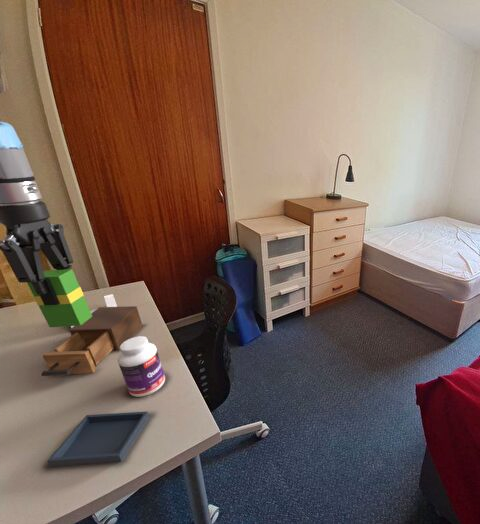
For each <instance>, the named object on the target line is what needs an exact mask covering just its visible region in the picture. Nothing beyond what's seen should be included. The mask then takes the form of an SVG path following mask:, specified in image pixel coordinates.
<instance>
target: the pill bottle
mask: <svg viewBox="0 0 480 524" xmlns="http://www.w3.org/2000/svg"><path fill="white" fill-rule="evenodd" d="M117 364H118V366H119V369H120V371H121V374H122V377H123V380H124V383H125V385H126V387H127V391H128V393H129V394H130V395H131V396H133V397H137V398H138V397H139V398H140V397H141V398H142V397H145V396H148V395H149V396H150V395H151V394H153V393H155V392H157V391H158V390H159V389H161V388H162V386H163V385H164V384H165V381H166V374H165V372H164V368H163V366H162V362H161V359H160V355H159V353H158V349H157V347H156V345H155V344H154V343H151V342H149V340H148V338H147V337H146V336H143V335H141V336H140V335H138V336H133V337H132V338H130V339H128V340H126V341H125V342H123V343H122V344H121V346H120V353H119V355H118V357H117Z"/></svg>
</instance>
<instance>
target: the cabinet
mask: <svg viewBox="0 0 480 524" xmlns="http://www.w3.org/2000/svg"><path fill="white" fill-rule="evenodd" d="M96 309H97V310H95V309H94V310H95V311H94V312H93V313H91V314H92V317H91V318H90V319H88V320H87V321H86V322H85V323H83V324H82V325H81V326H74V327H72V328H71V327H70V328H69V329H68V332H69V333H70V337H71V336H72V335H73V334H74V333H76V332H93V331H109V332H110V334H111V337H112V340H113V342H114V345H115V348H114V349H113V350H112V351H111V352H117V351H121V349H120V346H121V344H122V343H123V342H125V341H126V340H128V339H130V338H133V337H135V335H136V334H137V333H138V332H139V331H140V330H141V329H142V328H143V323H142V319H141V316H140V313H139V310H138V306H136V305H135V306H133V305H132V306H117V307H106V306H100V307H98V308H96Z"/></svg>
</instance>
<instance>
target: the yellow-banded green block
mask: <svg viewBox="0 0 480 524" xmlns="http://www.w3.org/2000/svg"><path fill="white" fill-rule="evenodd" d="M43 273H44V277H45V279H49V280H50V282H51V284H52V286H53V289H54V291H55V293H56V295H57V298H58V300H59V302H60V304H58V305H44V303H43V301H42V299H41V297H40V295H38V294H37V293H36V292H35V289H34V287H33V285H32V283H31V282H26V284H27V286H28V288H29V290H30V292H31V294H32V295H33V299H34V301H35V303H36V304H37V305H36V306H38V307H39V309H40V311H41V314H42V315H43V317H44V319H45V321H46V323H47V324H48V327H49V328H62V327H63V328H64V327H71V326H81V325H82V324H83V323H85V322H86V321H87V320H88V319H90V318H91V317H92V314H91V312H90V311H91V310H90V308H89V305H88V303H87V301H86V298H85V296H84V292H83V290H82V287H81V286H80V284H79V282H78V280H77V277H76V274H75V272H74V270H73V269H72V268H71V269H68V270H56V269H51V270H47V269H46V270H43ZM35 276H36V275H35Z"/></svg>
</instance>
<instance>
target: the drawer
mask: <svg viewBox="0 0 480 524" xmlns="http://www.w3.org/2000/svg"><path fill="white" fill-rule="evenodd" d="M114 348H115V345H114V342H113V340H112V337H111V334H110V332H109V331H93V332H76V333H74V334H73V335H72V336H71V335H70V336H69V337H68V338H66V339H65V340H64V341H62V343H60V344H59V345H58V346H57V347H54V348H53V351H46V352H45V353H43V354H42V358H43V360H44V362H45V363H46V365H47V368H48V369H47V370H43V371H42V372H41V376H42V377H58V376H70V375H77V374H94V373H95V372H96V371H97V368H96V366H98V365H99V364H100V363H101V362H102V361H103V360H105V359H106V357H107V356H109V354H110V353H111V352H113V351H112V350H113V349H114Z"/></svg>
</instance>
